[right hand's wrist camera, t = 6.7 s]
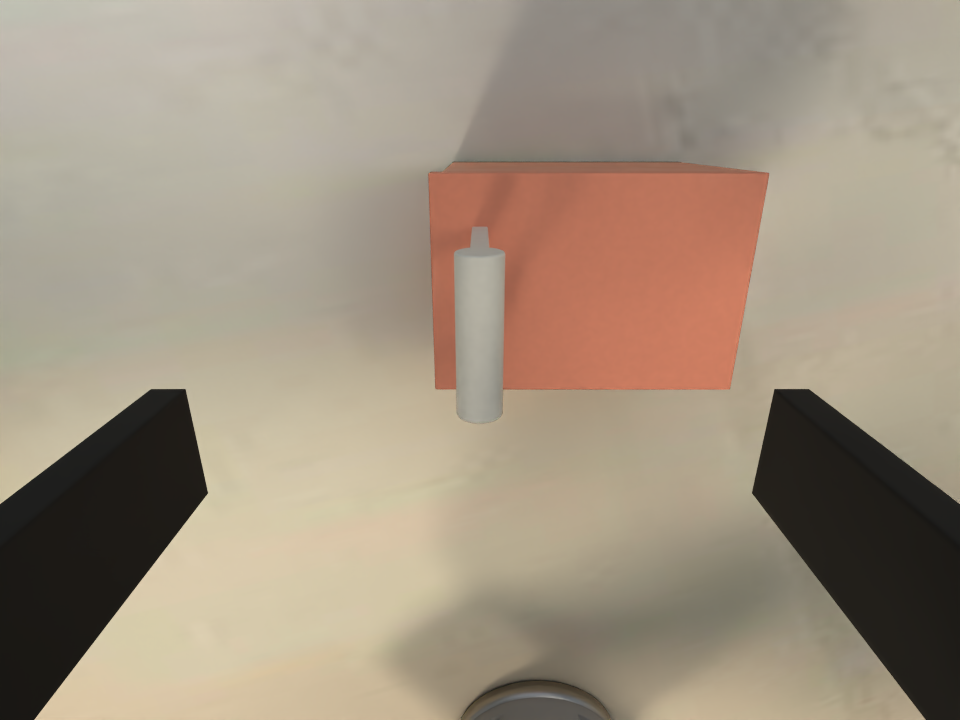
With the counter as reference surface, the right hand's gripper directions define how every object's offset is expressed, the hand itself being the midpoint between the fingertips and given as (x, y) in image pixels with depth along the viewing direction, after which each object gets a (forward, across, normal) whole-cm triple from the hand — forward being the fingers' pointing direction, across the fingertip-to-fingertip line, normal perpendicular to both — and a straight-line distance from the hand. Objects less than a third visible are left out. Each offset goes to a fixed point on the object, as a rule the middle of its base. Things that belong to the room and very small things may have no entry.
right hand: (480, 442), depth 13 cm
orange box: (+15, -5, 0) cm, 16 cm away
